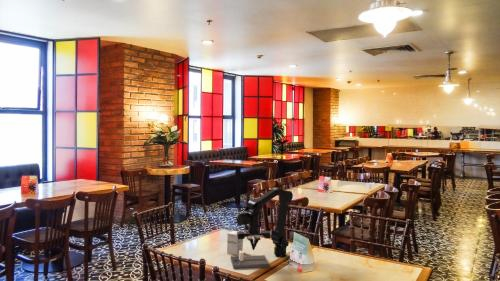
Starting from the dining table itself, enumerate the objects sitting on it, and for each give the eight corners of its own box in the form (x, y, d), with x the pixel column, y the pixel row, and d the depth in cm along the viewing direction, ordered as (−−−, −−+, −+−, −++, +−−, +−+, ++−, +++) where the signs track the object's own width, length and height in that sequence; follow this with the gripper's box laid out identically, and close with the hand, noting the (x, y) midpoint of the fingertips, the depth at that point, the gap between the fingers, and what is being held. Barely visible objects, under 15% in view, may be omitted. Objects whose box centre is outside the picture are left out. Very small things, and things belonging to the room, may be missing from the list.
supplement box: (226, 253, 236) (226, 233, 235) (232, 250, 242) (233, 230, 242) (237, 255, 233) (237, 234, 232) (243, 252, 239) (243, 231, 238)
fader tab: (242, 258, 221) (242, 250, 221) (243, 260, 217) (243, 252, 217) (239, 258, 220) (239, 250, 220) (239, 260, 217) (240, 252, 217)
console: (264, 258, 228) (264, 255, 228) (269, 267, 214) (269, 263, 214) (230, 259, 225) (230, 256, 225) (233, 268, 211) (233, 265, 211)
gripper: (266, 218, 230) (266, 244, 231) (235, 219, 227) (235, 245, 228) (270, 223, 219) (270, 250, 220) (238, 224, 216) (237, 252, 217)
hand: (253, 249), depth 221 cm, fingers closed
